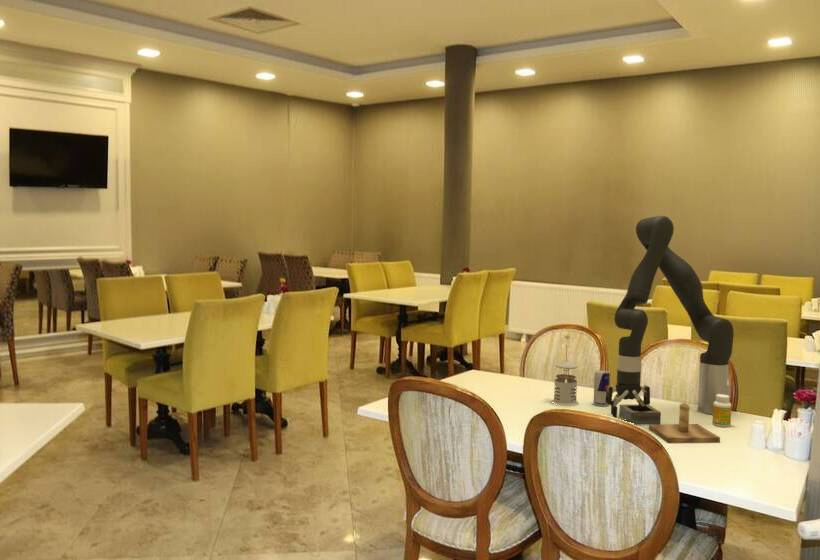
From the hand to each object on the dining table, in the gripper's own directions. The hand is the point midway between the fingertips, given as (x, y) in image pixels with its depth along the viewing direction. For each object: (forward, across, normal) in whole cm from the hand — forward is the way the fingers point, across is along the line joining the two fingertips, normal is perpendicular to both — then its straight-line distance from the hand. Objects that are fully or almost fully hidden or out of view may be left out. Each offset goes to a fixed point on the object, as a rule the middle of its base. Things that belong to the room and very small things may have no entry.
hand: (627, 416), depth 233 cm
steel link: (+1, -4, 0) cm, 4 cm away
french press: (+1, +14, -24) cm, 28 cm away
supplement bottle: (+1, -29, +6) cm, 30 cm away
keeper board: (+1, -11, +17) cm, 20 cm away
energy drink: (+1, +2, -20) cm, 20 cm away
